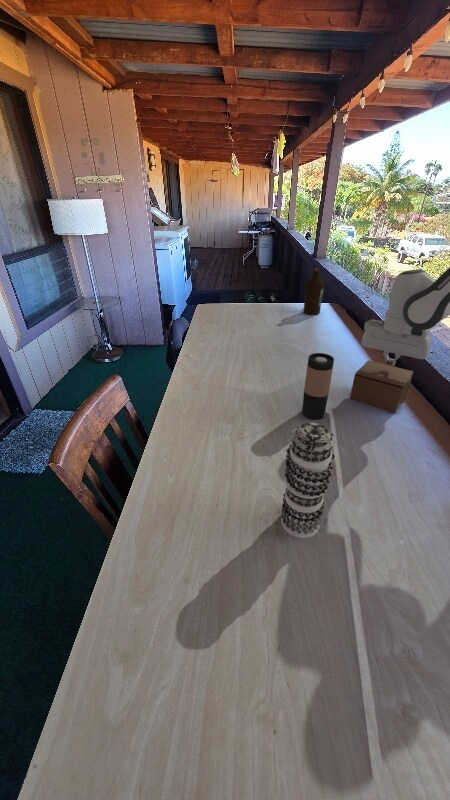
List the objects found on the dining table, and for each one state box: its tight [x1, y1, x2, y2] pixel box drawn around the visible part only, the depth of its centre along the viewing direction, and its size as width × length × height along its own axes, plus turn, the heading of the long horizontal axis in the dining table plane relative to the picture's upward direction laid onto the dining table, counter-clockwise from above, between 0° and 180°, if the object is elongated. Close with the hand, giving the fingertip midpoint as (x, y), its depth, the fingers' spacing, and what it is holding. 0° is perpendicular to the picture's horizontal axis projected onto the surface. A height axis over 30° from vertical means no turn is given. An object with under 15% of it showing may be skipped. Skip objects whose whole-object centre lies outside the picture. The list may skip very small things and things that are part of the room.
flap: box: [361, 360, 414, 379], centre depth 118 cm, size 15×6×1 cm, turn 52°
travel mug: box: [301, 352, 335, 421], centre depth 109 cm, size 8×8×20 cm
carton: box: [349, 366, 414, 414], centre depth 118 cm, size 15×13×11 cm
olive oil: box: [303, 267, 325, 316], centre depth 202 cm, size 11×11×25 cm
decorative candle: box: [280, 422, 337, 539], centre depth 71 cm, size 9×9×25 cm
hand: (389, 364), depth 116 cm, fingers closed
